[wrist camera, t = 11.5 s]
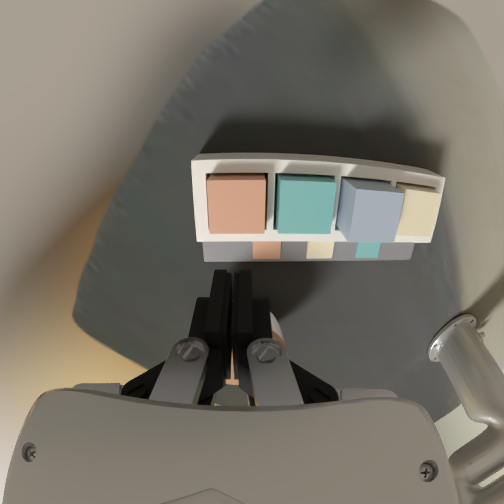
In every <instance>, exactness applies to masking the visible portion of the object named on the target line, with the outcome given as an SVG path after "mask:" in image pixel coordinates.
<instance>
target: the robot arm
mask: <svg viewBox="0 0 504 504" xmlns="http://www.w3.org/2000/svg"><path fill="white" fill-rule="evenodd" d="M475 328H476V319H475V318H474V316H473V315H471V314H464V315H461V316H459V317H457V318H455V319H453V320H452V321H451V322H449V323H448V324H447V325H446V326H444V327H443V328H442V329H441V330H440V331H439V332H438V334H437V335H436V336H435V337H434V339H433V340H432V342H431V343H430V346H429V348H428V356H429V358H430V359H431V360H432V361H440V362H441V364H442V366H443V368H444V370H445V371H446V373H447V375H448V377H449V379H450V381H451V383H452V385H453V387H454V389H455V391H456V393H457V395H458V397H459V399H460V401H461V403H462V405H463V407H464V409H465V412H466V414H467V416H468V417H469V418H470V419H471V420H473V421H475V422H479V423H484V424H487V425H488V427H487V429H486V430H484V431H483V432H482V433H481V434H480V435H478V436H477V437H475V438H474V439H472V440H471V441H470V442H468V443H467V444H465V445H464V446H462V447H461V448H459V449H458V450H457V451H455V452H454V453H453V454H452V455H451V456H450V458H449V459H448V458H447V455H446V451H445V449H444V446H443V443H442V441H441V438H440V435H439V433H438V431H437V429H436V426H435V425H434V422H433V421H432V419H431V417H430V415H429V414H428V412H427V411H426V410H425V409H424V408H423V407H422V406H421V405H420V404H418V403H416V402H414V401H411V400H407V399H402V398H398V397H397V396H396V394H395V393H393V392H391V391H390V390H384V389H355V388H342V390H335V389H334V388H333V387H332V386H331V385H329V384H327V383H326V382H324V381H322V380H321V379H319V378H317V377H316V376H314V375H313V374H311V373H309V372H308V371H306V370H305V369H303V368H301V367H300V366H298V365H297V364H295V363H293V362H292V361H290V360H289V358H288V355H287V352H286V349H285V348H284V346H283V344H281V343H280V342H279V341H277V340H275V339H273V336H272V326H271V316H270V307H269V298H252V271H251V270H240V273H235V280H234V295H233V297H232V274H231V273H227V270H215V271H214V276H213V282H212V287H211V293H210V297H198V298H197V301H196V305H195V310H194V314H193V318H192V323H191V327H190V332H189V336H188V337H186V338H183V339H180V340H178V341H177V342H176V343H175V344H174V345H173V347H172V348H171V351H170V353H169V355H168V357H167V359H166V360H165V361H164V362H162V363H160V364H159V365H157V366H155V367H153V368H152V369H150V370H148V371H146V372H145V373H143V374H141V375H139V376H138V377H136V378H134V379H132V380H130V381H129V382H128V383H126V384H125V385H121V384H120V383H90V384H89V383H82V384H77V385H75V386H74V387H73V388H58V389H53V390H49V391H46V392H44V393H43V394H41V395H40V396H39V397H38V399H37V400H36V401H35V402H34V404H33V406H32V407H31V409H30V411H29V413H28V415H27V417H26V419H25V421H24V424H23V426H22V429H21V431H20V434H19V436H18V439H17V442H16V445H15V449H14V452H13V455H12V459H11V462H10V466H9V470H8V474H7V479H6V484H5V490H4V496H3V503H2V504H504V475H502V476H501V477H499V478H498V479H496V480H495V481H493V482H491V483H490V484H488V485H487V486H485V487H480V486H479V483H480V482H482V481H484V480H485V479H487V478H488V477H490V476H491V475H493V474H494V473H496V472H498V471H499V470H501V469H502V468H503V467H504V374H503V373H502V371H501V369H500V368H499V366H498V364H497V363H496V361H495V360H494V358H493V357H492V355H491V353H490V352H489V350H488V349H487V347H486V346H485V344H484V343H483V339H482V338H484V337H485V333H484V332H481V333H478V332H477V330H476V329H475ZM232 354H233V368H234V380H238V381H239V388H240V389H242V390H243V391H244V392H245V393H247V398H248V403H249V406H214V403H215V399H216V392H217V391H218V390H220V389H221V388H223V386H226V379H231V360H232Z"/></svg>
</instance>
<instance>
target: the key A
mask: <svg viewBox="0 0 504 504" xmlns="http://www.w3.org/2000/svg"><path fill="white" fill-rule="evenodd" d="M265 196H266V179H265V175H264V173H211V174H210V176H209V178H208V179H207V197H208V215H209V231H210V234H264V233H265Z"/></svg>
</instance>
